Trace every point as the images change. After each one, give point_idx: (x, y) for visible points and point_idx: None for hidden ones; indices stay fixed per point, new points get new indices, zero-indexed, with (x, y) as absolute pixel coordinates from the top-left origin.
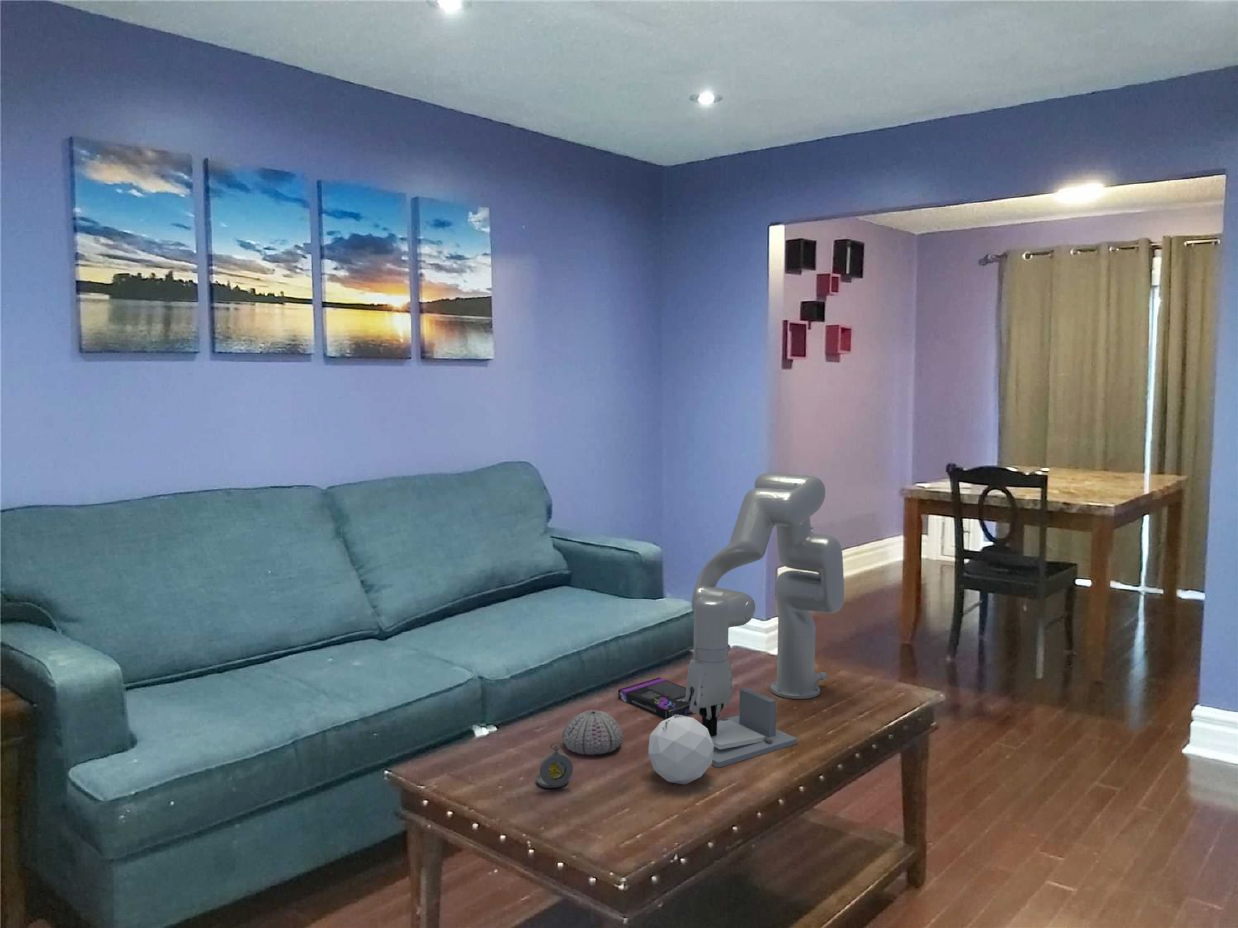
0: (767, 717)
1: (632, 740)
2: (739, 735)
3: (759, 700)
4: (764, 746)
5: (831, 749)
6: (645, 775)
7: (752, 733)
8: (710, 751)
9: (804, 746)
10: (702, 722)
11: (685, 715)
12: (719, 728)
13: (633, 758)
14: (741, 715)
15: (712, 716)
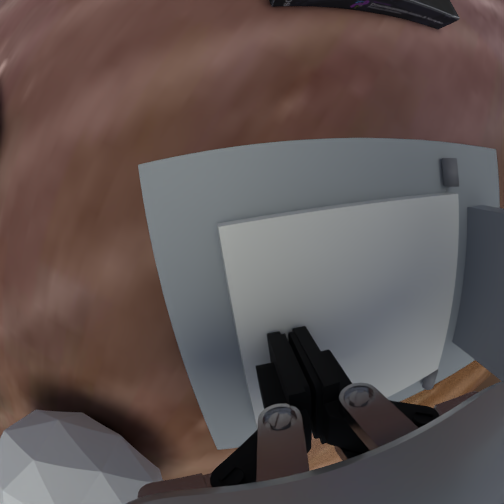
0: (491, 362)
1: (35, 132)
2: (391, 364)
3: None
4: (402, 393)
5: (473, 384)
6: (26, 384)
7: (433, 345)
8: None
9: (464, 368)
10: (262, 395)
11: (352, 8)
12: (380, 283)
13: (2, 283)
14: (490, 222)
15: (324, 433)
